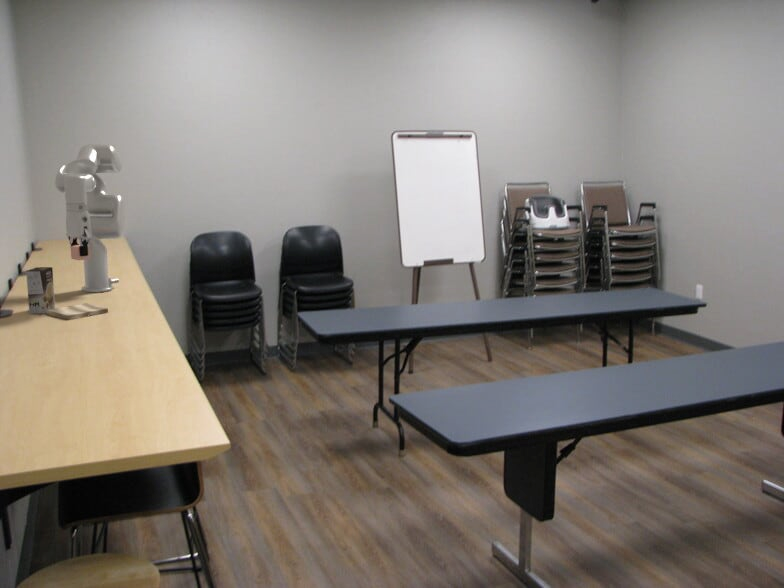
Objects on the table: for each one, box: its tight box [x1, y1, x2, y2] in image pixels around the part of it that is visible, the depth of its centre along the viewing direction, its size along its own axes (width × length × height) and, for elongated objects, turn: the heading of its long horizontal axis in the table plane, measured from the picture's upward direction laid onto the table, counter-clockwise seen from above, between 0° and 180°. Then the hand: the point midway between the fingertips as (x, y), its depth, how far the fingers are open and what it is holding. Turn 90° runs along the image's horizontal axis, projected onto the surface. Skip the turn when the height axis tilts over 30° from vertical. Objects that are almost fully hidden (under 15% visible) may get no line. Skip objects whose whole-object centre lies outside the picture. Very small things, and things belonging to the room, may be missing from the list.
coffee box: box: [25, 266, 56, 314], centre depth 275 cm, size 9×6×16 cm
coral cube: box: [69, 244, 91, 261], centre depth 284 cm, size 5×5×5 cm
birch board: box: [46, 302, 109, 321], centre depth 274 cm, size 16×14×2 cm
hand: (79, 254), depth 284 cm, fingers closed on coral cube, 5 cm apart
